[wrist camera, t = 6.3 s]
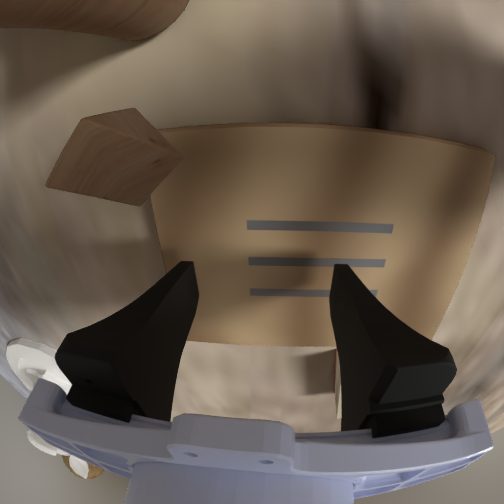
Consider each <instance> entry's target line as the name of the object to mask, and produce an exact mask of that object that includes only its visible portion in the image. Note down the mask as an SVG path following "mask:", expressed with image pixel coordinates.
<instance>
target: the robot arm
mask: <svg viewBox="0 0 504 504" xmlns="http://www.w3.org/2000/svg"><path fill="white" fill-rule="evenodd" d="M198 300H199V290H198V284H197V279H196V273H195V267H194V262H193V261H180V262H179V263H178V264H177V265H176V266H175V267H173V268H172V269H171V270H170V271H169V272H168V273H167V274H166V275H165V276H164V277H163V278H161V279H160V280H159V281H158V282H157V283H156V284H155V285H154V286H152V287H151V288H150V289H149V290H147V291H146V292H145V293H144V294H143V295H141V296H140V297H139V298H137V299H136V300H135V301H133V302H132V303H130V304H129V305H127V306H126V307H124V308H123V309H121V310H119V311H118V312H116V313H114V314H112V315H111V316H109V317H107V318H105V319H103V320H101V321H99V322H97V323H95V324H92V325H90V326H88V327H85V328H82V329H80V330H77V331H74V332H71V333H68V334H67V335H66V337H65V338H64V340H63V342H62V343H61V345H60V347H59V348H58V350H57V352H56V353H55V361H56V364H57V365H58V367H59V369H60V370H61V371H62V373H63V374H64V375H65V376H66V378H67V379H68V380H69V381H70V383H71V384H72V386H71V388H70V390H69V392H68V394H66V392H65V391H64V390H63V389H62V388H61V387H60V386H59V385H57V384H55V383H53V382H50V381H48V380H45V379H42V378H38V380H37V382H36V384H35V386H34V388H33V390H32V391H31V393H30V395H29V397H28V399H27V401H26V404H25V405H24V407H23V409H22V411H21V413H20V415H19V417H18V418H19V420H20V421H21V422H22V423H23V424H25V425H26V426H27V427H28V428H29V429H30V430H32V431H33V432H34V433H35V434H37V435H38V436H39V437H40V438H42V439H43V440H44V441H45V442H47V443H48V444H50V445H52V446H54V447H56V448H58V449H60V450H62V451H64V452H66V453H69V454H71V455H73V456H75V457H77V458H79V459H81V460H84V461H86V462H88V463H90V464H93V465H95V466H97V467H100V468H102V469H105V470H107V471H110V472H112V473H115V474H118V475H120V476H123V477H126V478H128V479H130V482H129V486H128V490H127V493H126V497H125V501H124V504H354V499H356V498H362V497H366V496H372V495H377V494H381V493H386V492H390V491H394V490H398V489H401V488H405V487H409V486H412V485H416V484H419V483H422V482H426V481H428V480H432V479H435V478H438V477H441V476H444V475H447V474H450V473H453V472H456V471H458V470H461V469H463V468H465V467H466V466H468V465H469V464H471V463H472V462H474V461H476V460H477V459H479V458H480V457H481V456H483V455H484V454H486V453H487V452H489V451H490V450H491V449H493V447H494V445H493V442H492V437H491V434H490V430H489V427H488V424H487V420H486V417H485V414H484V411H483V408H482V405H481V402H480V399H476V400H473V401H469V402H465V403H462V404H459V405H457V406H455V407H454V408H453V409H451V410H450V412H449V413H448V415H444V411H443V408H442V403H443V402H444V397H443V394H442V393H443V392H444V391H445V389H446V388H447V387H448V386H449V384H450V383H451V382H452V380H453V379H454V377H455V375H456V372H457V368H456V365H455V362H454V360H453V357H452V355H451V353H450V351H449V349H448V348H446V347H444V346H442V345H440V344H438V343H436V342H434V341H432V340H430V339H428V338H426V337H425V336H423V335H421V334H420V333H418V332H417V331H415V330H414V329H412V328H411V327H409V326H408V325H406V324H405V323H404V322H402V321H401V320H400V319H399V318H397V317H396V316H395V315H394V314H393V313H391V312H390V311H389V310H388V309H387V308H386V307H385V306H384V305H383V304H382V303H381V302H380V301H379V300H378V299H377V298H376V297H375V296H374V295H373V294H372V293H371V292H370V291H369V289H368V288H367V287H366V286H365V285H364V284H363V282H362V281H361V280H360V279H359V278H358V276H357V275H356V274H355V273H354V271H353V270H352V269H351V268H350V266H349V265H348V264H334V270H333V277H332V283H331V289H330V295H329V305H330V317H331V322H332V327H333V332H334V337H335V341H336V346H337V351H338V357H339V364H340V377H341V409H342V418H341V431H339V432H320V433H295V432H294V430H293V428H292V427H291V426H289V425H287V424H284V423H282V422H279V421H271V420H260V419H243V418H230V417H220V416H210V415H202V414H185V413H184V414H181V415H179V416H176V417H174V418H173V422H170V420H171V410H172V403H173V396H174V389H175V384H176V378H177V373H178V368H179V363H180V359H181V355H182V352H183V349H184V346H185V343H186V340H187V337H188V334H189V332H190V329H191V326H192V323H193V320H194V317H195V314H196V310H197V306H198Z"/></svg>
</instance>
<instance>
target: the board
mask: <svg viewBox="0 0 504 504" xmlns="http://www.w3.org/2000/svg"><path fill="white" fill-rule="evenodd" d="M157 131H158V132H159V133H160V134H161V135H162V136H163V137H164V138H165V139H166V140H167V141H168V142H169V143H170V144H171V145H172V146H173V147H174V148H175V149H176V150H177V151H178V152H179V153H180V154H181V155H182V156H183V160H182V161H181V162H180V163H179V164H178V165H177V166H176V167H175V168H174V169H173V170H172V171H171V172H170V173H169V175H168V176H167V177H166V178H165V179H164V180H163V181H162V182H161V183H160V184H159V185H158V187H157V188H156V189H155V190H154V191H153V192H152V193H151V194H150V197H151V202H152V208H153V213H154V218H155V223H156V228H157V233H158V237H159V242H160V247H161V251H162V256H163V260H164V264H165V269H166V273H168V272H169V271H170V270H171V269H172V268H173V267H175V266H176V265H177V264H178V263H179V262H180V261H193V262H194V267H195V273H196V279H197V284H198V290H199V300H198V306H197V310H196V314H195V317H194V320H193V323H192V326H191V329H190V332H189V334H188V337H187V340H186V341H197V342H209V343H223V344H239V345H261V346H336V341H335V337H334V332H333V327H332V322H331V317H330V305H329V295H330V289H331V283H332V277H333V270H334V264H348V265H349V266H350V268H351V269H352V270H353V271H354V273H355V274H356V275H357V276H358V278H359V279H360V280H361V281H362V282H363V284H364V285H365V286H366V287H367V288H368V289H369V291H370V292H371V293H372V294H373V295H374V296H375V297H376V298H377V299H378V300H379V301H380V302H381V303H382V304H383V305H384V306H385V307H386V308H387V309H388V310H389V311H390V312H391V313H393V314H394V315H395V316H396V317H397V318H399V319H400V320H401V321H402V322H404V323H405V324H406V325H408V326H409V327H411V328H412V329H414V330H415V331H417V332H418V333H420V334H421V335H423V336H425V337H426V338H428V339H430V340H432V338H433V336H434V334H435V332H436V330H437V328H438V326H439V324H440V322H441V320H442V318H443V316H444V314H445V312H446V310H447V308H448V306H449V304H450V301H451V299H452V297H453V295H454V292H455V290H456V288H457V285H458V283H459V281H460V278H461V276H462V273H463V271H464V268H465V265H466V263H467V260H468V257H469V255H470V252H471V249H472V246H473V243H474V240H475V237H476V234H477V231H478V228H479V224H480V221H481V218H482V214H483V211H484V207H485V203H486V199H487V195H488V191H489V187H490V182H491V178H492V173H493V168H494V163H495V157H496V155H494V154H492V153H490V152H489V151H487V150H485V149H482V148H478V147H474V146H470V145H466V144H462V143H457V142H453V141H448V140H443V139H438V138H433V137H427V136H422V135H416V134H409V133H403V132H396V131H389V130H381V129H372V128H363V127H352V126H340V125H325V124H303V123H239V124H217V125H201V126H189V127H178V128H169V129H160V130H157Z"/></svg>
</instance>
